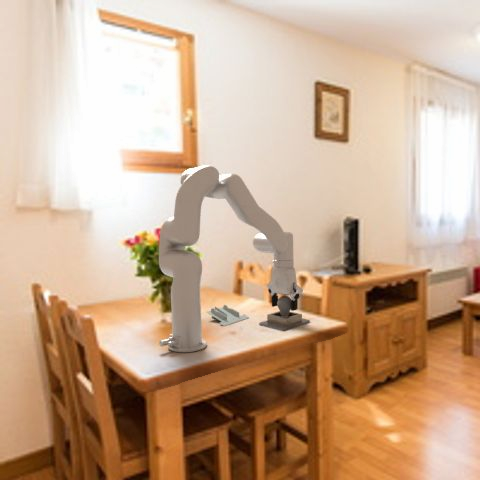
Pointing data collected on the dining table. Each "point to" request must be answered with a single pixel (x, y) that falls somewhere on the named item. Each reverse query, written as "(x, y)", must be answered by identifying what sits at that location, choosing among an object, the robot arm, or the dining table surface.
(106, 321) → the dining table surface
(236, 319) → the metal bracket
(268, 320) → the grey square socket base
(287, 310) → the light bulb
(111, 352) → the dining table surface
